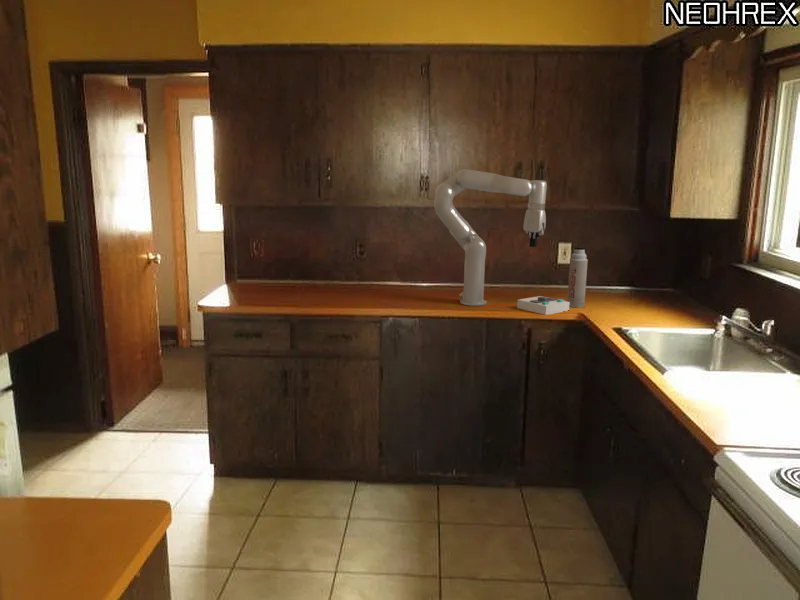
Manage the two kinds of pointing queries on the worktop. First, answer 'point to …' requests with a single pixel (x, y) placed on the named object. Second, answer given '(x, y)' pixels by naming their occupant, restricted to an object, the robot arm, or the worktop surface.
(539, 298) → the button
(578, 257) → the thermos bottle
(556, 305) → the switch unit
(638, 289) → the worktop surface
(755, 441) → the worktop surface
